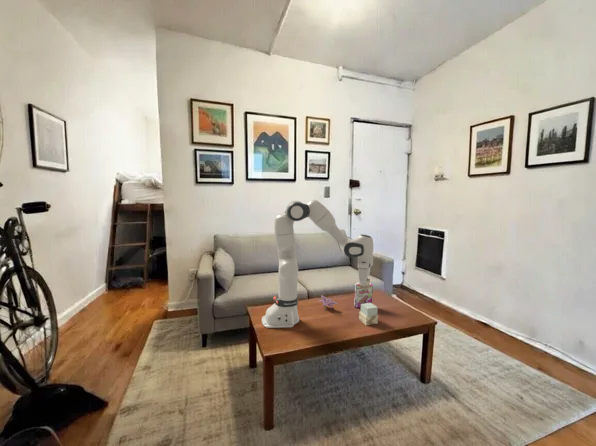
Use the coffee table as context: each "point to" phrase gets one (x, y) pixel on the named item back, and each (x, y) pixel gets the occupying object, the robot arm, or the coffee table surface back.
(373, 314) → the tower top
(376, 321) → the tower base
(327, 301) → the lily
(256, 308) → the coffee table surface
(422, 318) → the coffee table surface
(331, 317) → the coffee table surface
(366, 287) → the cube
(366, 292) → the candy bar box
